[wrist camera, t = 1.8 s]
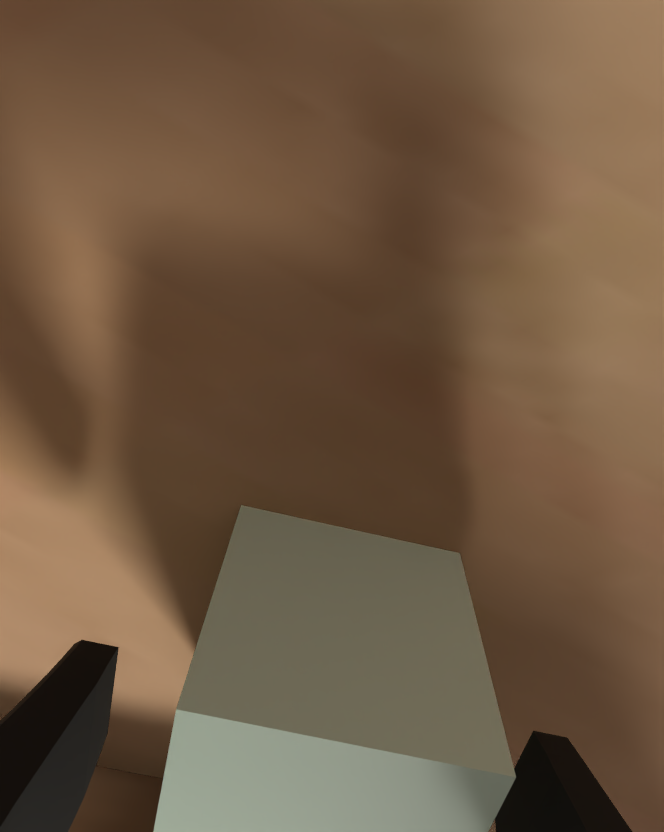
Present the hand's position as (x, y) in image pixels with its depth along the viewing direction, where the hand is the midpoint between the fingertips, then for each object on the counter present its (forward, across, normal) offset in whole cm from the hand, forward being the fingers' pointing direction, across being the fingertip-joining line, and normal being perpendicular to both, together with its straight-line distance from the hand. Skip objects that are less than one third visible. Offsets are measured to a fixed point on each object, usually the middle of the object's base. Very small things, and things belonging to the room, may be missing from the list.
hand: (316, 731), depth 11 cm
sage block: (+3, 0, 0) cm, 3 cm away
